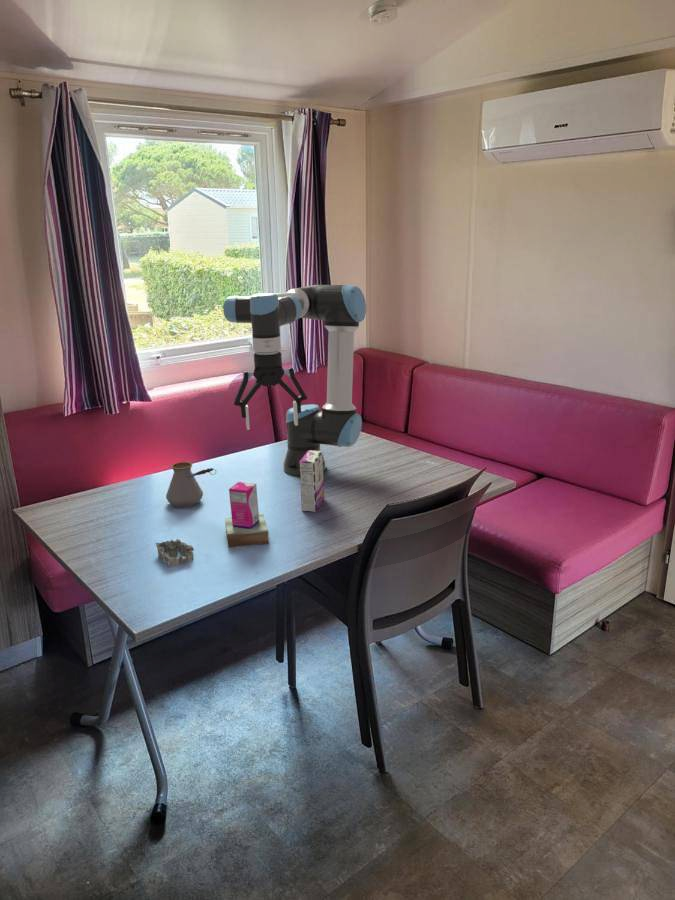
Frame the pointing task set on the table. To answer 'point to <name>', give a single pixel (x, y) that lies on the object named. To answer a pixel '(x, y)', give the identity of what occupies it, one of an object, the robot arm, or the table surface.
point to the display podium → (247, 533)
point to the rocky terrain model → (175, 552)
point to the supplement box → (244, 505)
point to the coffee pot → (184, 486)
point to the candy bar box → (311, 480)
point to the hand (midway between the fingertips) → (272, 426)
